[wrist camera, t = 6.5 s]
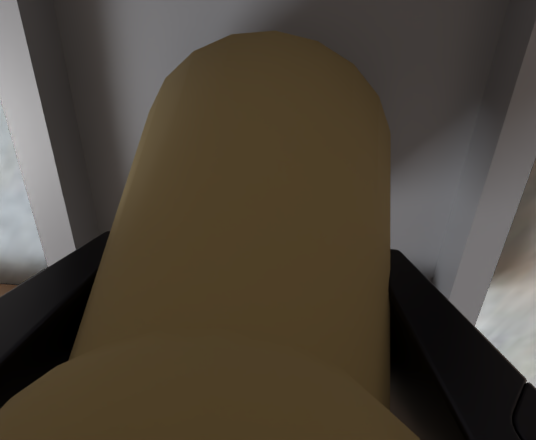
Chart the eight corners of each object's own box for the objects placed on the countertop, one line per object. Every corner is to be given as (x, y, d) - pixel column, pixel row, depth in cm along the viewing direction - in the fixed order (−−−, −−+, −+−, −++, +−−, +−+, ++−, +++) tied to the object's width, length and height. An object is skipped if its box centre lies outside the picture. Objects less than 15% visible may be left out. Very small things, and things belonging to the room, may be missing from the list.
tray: (589, -163, 11) (655, -172, 9) (448, 294, 18) (466, 348, 16) (-11, -180, 11) (-82, -192, 9) (90, 270, 19) (62, 319, 17)
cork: (184, -17, 10) (-658, 686, 1) (441, 94, 11) (959, 958, 2) (122, 208, 14) (-247, 858, 5) (325, 280, 15) (350, 941, 6)
